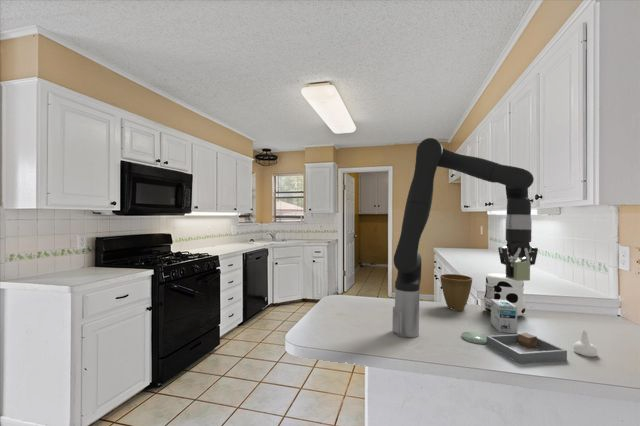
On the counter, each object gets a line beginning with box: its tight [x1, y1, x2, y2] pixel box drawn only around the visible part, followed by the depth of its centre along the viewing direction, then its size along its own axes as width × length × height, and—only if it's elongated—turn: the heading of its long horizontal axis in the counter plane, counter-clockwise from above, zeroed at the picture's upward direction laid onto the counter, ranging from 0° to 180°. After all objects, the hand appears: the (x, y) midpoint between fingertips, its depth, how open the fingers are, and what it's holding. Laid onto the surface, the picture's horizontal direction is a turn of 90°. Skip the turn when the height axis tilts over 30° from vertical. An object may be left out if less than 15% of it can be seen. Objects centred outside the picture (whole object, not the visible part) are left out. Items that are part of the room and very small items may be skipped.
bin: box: [486, 333, 568, 364], centre depth 105 cm, size 18×15×3 cm
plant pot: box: [439, 273, 473, 311], centre depth 155 cm, size 15×15×16 cm
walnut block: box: [517, 332, 538, 350], centre depth 110 cm, size 4×4×4 cm
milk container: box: [482, 273, 526, 318], centre depth 147 cm, size 17×17×18 cm
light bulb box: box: [490, 299, 518, 334], centre depth 127 cm, size 11×7×11 cm, turn 168°
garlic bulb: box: [572, 330, 599, 358], centre depth 105 cm, size 6×6×8 cm
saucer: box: [461, 331, 488, 345], centre depth 116 cm, size 10×10×1 cm
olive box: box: [506, 260, 531, 282], centre depth 106 cm, size 5×5×6 cm
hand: (517, 276), depth 106 cm, fingers closed on olive box, 5 cm apart
